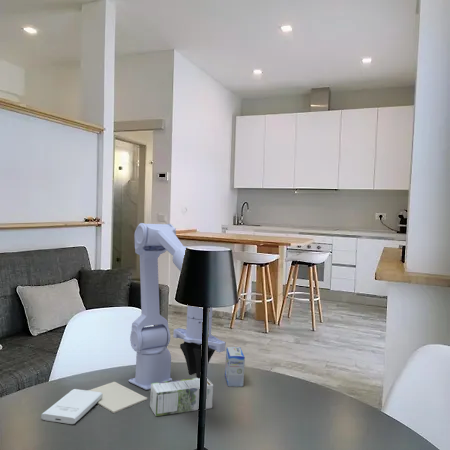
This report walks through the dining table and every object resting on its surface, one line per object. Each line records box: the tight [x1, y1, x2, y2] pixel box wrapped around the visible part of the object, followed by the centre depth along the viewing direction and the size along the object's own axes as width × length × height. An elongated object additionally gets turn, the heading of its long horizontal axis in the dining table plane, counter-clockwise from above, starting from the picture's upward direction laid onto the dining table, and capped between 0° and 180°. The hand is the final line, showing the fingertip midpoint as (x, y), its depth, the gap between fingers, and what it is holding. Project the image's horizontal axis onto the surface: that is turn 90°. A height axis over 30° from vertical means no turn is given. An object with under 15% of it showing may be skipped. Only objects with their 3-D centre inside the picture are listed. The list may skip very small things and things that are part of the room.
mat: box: [87, 381, 148, 414], centre depth 103 cm, size 10×14×1 cm
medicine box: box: [224, 346, 246, 388], centre depth 117 cm, size 8×4×9 cm, turn 6°
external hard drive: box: [40, 388, 103, 425], centre depth 96 cm, size 2×8×12 cm
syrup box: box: [149, 377, 214, 417], centre depth 100 cm, size 6×6×14 cm
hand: (196, 375), depth 93 cm, fingers closed
